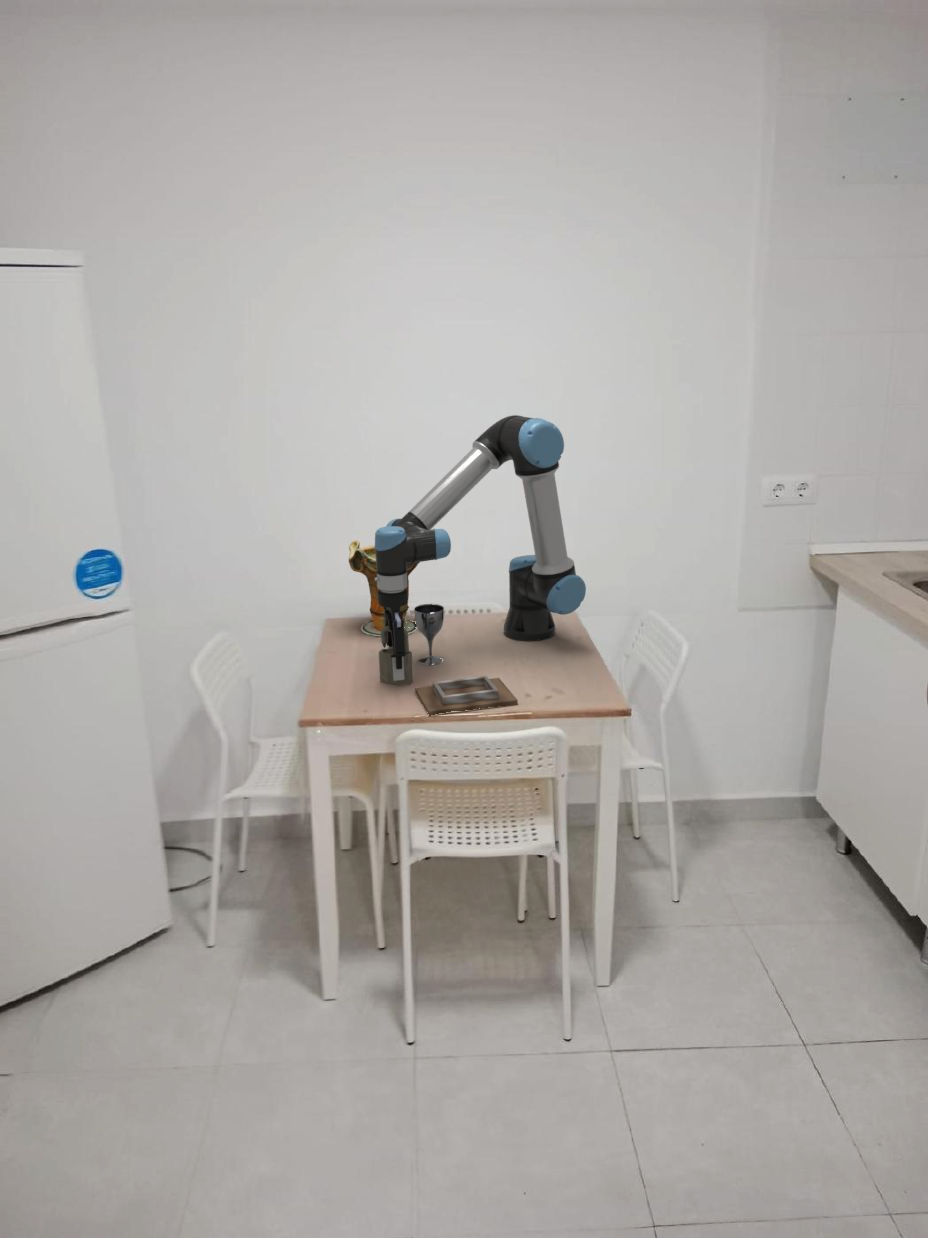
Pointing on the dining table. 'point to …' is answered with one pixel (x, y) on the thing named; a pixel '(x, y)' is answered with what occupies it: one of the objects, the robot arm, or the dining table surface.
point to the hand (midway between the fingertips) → (396, 674)
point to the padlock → (387, 661)
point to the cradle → (465, 695)
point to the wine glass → (429, 627)
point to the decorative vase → (375, 587)
